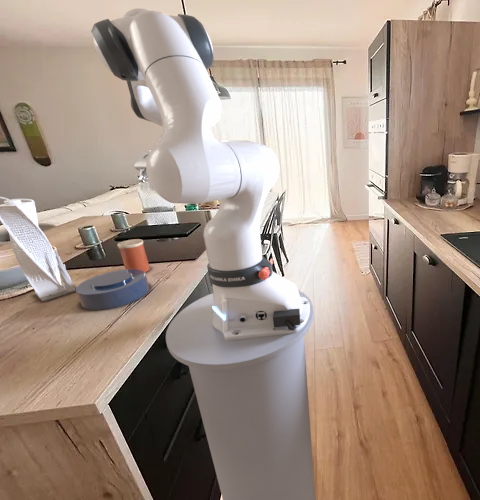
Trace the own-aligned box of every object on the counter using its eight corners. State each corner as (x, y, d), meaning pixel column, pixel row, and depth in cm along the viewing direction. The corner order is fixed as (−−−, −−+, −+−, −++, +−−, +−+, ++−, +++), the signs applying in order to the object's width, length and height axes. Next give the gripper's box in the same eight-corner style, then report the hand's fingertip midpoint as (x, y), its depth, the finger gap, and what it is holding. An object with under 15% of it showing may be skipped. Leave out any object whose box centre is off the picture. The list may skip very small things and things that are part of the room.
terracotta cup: (155, 266, 98) (147, 239, 94) (141, 275, 92) (133, 246, 88) (135, 266, 98) (127, 239, 94) (120, 275, 92) (111, 246, 88)
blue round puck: (160, 282, 87) (156, 266, 85) (124, 310, 73) (118, 291, 71) (111, 282, 87) (106, 266, 85) (65, 310, 73) (58, 291, 71)
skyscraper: (35, 304, 76) (-13, 198, 66) (27, 295, 80) (-20, 195, 70) (76, 291, 82) (38, 193, 72) (67, 283, 86) (29, 190, 76)
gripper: (140, 143, 101) (120, 174, 96) (186, 143, 96) (168, 177, 91) (154, 156, 107) (136, 186, 102) (199, 157, 102) (182, 189, 96)
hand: (152, 182), depth 96 cm, fingers open, 8 cm apart
